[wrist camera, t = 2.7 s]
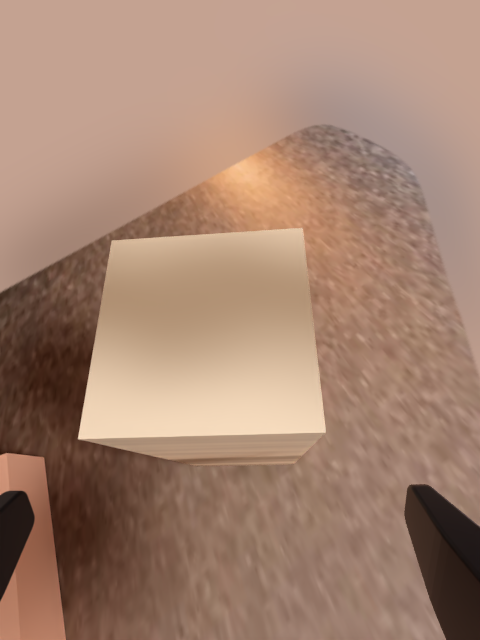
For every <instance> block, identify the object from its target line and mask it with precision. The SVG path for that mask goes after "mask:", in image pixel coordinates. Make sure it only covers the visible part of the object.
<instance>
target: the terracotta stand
mask: <svg viewBox="0 0 480 640" xmlns="http://www.w3.org/2000/svg"><path fill="white" fill-rule="evenodd" d="M20 490H22V491H25V492H26V493H27V495H28V498H29V501H30V503H31V506H32V509H33V512H34V515H35V521H34V526H33V528H32V531H31V533H30V535H29V538H28V540H27V542H26V545H25V547H24V549H23V552H22V554H21V556H20V559H19V561H18V563H17V566H16V568H15V570H14V573H13V575H12V577H11V580H10V582H9V584H8V586H7V589H6V591H5V593H4V595H3V597H2V599H1V601H0V640H66V636H65V628H64V619H63V611H62V603H61V594H60V586H59V578H58V569H57V561H56V553H55V544H54V536H53V528H52V519H51V511H50V503H49V494H48V486H47V478H46V469H45V461H44V457H37V456H28V455H20V454H11V453H5V454H3V455H0V495H1V494H3V493H4V492H6V491H20Z"/></svg>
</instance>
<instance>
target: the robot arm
mask: <svg viewBox="0 0 480 640" xmlns="http://www.w3.org/2000/svg"><path fill="white" fill-rule="evenodd" d="M405 520H406V524H407V528H408V531H409V534H410V537H411V541H412V544H413V547H414V550H415V553H416V557H417V560H418V563H419V566H420V569H421V573H422V576H423V579H424V582H425V586H426V589H427V592H428V595H429V598H430V601H431V603H432V606H433V608H434V611H435V614H436V616H437V618H438V621H439V623H440V626H441V628H442V630H443V633H444V635H445V638H446V640H480V526H478V525H477V524H476V523H475V522H473V521H472V520H471V519H470V518H469V517H467V516H466V515H465V514H464V513H462V512H461V511H460V510H459V509H458V508H456V507H455V506H454V505H453V504H451V503H450V502H449V501H448V500H447V499H445V498H444V497H443V496H442V495H441V494H439V493H438V492H437V491H436V490H434V489H433V488H432V487H431V486H429V485H426V484H416V485H409V487H408V489H407V496H406V504H405ZM34 521H35V515H34V512H33V509H32V506H31V503H30V501H29V498H28V495H27V493H26V492H25V491H22V490H20V491H6V492H4V493H3V494H1V495H0V601H1V599H2V597H3V595H4V593H5V591H6V589H7V586H8V584H9V582H10V580H11V577H12V575H13V573H14V570H15V568H16V566H17V563H18V561H19V559H20V556H21V554H22V552H23V549H24V547H25V545H26V542H27V540H28V538H29V535H30V533H31V531H32V528H33V526H34Z"/></svg>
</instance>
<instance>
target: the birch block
mask: <svg viewBox="0 0 480 640" xmlns="http://www.w3.org/2000/svg"><path fill="white" fill-rule="evenodd" d="M325 433H326V430H325V421H324V412H323V403H322V394H321V385H320V377H319V368H318V359H317V350H316V341H315V332H314V324H313V315H312V306H311V297H310V288H309V279H308V271H307V262H306V253H305V244H304V235H303V228H294V229H279V230H264V231H249V232H234V233H219V234H204V235H189V236H175V237H160V238H145V239H130V240H115V241H112V243H111V249H110V255H109V260H108V266H107V272H106V278H105V284H104V290H103V295H102V301H101V307H100V313H99V319H98V325H97V330H96V336H95V342H94V348H93V354H92V360H91V365H90V371H89V377H88V383H87V389H86V395H85V400H84V406H83V412H82V418H81V424H80V430H79V436H78V439H79V440H84V441H88V442H93V443H97V444H101V445H106V446H110V447H114V448H119V449H123V450H128V451H132V452H136V453H141V454H145V455H150V456H154V457H158V458H163V459H167V460H171V461H176V462H180V463H185V464H189V465H193V466H241V465H290V464H294V463H295V462H296V461H297V460H298V459H299V458H300V457H301V456H302V455H303V454H304V453H305V452H306V451H307V450H308V449H309V448H310V447H312V446H313V445H314V444H315V443H316V442H317V441H318V440H319V439H320V438H321V437H322V436H323V435H324V434H325Z"/></svg>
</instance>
